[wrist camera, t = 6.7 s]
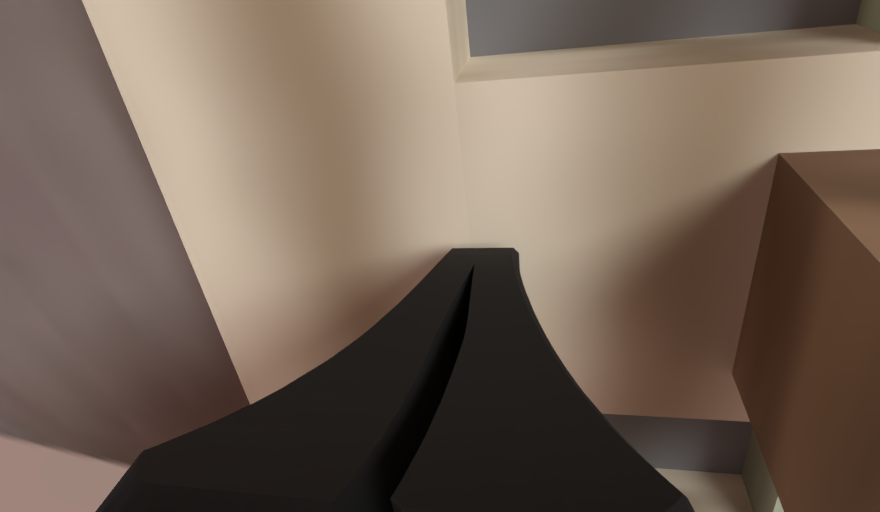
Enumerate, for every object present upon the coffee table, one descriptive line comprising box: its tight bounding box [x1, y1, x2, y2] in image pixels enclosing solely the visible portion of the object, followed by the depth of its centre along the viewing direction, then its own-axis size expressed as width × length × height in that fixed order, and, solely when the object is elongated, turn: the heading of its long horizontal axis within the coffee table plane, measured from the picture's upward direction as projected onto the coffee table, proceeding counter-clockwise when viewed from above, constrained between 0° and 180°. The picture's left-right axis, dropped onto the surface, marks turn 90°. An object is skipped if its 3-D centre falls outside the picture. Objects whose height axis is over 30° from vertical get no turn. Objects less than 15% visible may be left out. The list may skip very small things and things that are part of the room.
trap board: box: [82, 0, 880, 512], centre depth 11 cm, size 18×19×4 cm
